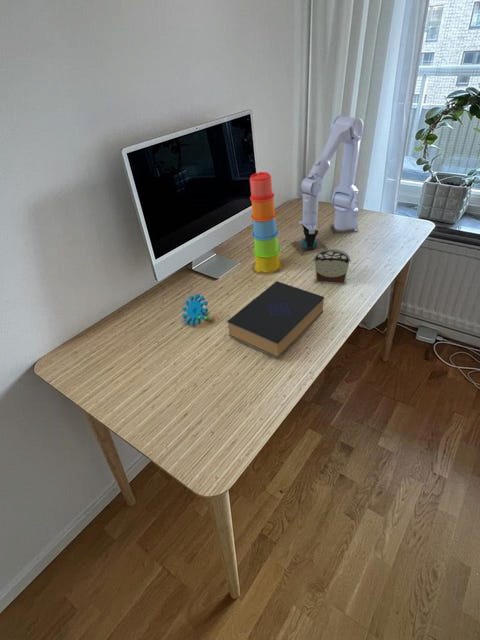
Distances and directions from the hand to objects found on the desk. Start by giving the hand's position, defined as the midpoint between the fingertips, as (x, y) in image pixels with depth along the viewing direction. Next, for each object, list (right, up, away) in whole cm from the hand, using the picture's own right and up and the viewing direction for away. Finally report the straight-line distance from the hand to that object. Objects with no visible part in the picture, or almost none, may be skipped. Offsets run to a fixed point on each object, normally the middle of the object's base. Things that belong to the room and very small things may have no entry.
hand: (309, 242), depth 153 cm
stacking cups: (-17, -11, -9) cm, 23 cm away
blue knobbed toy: (-41, -31, -32) cm, 61 cm away
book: (-17, -33, -38) cm, 53 cm away
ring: (0, -1, 0) cm, 1 cm away
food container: (+4, -17, -19) cm, 26 cm away
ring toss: (0, -1, +1) cm, 2 cm away
